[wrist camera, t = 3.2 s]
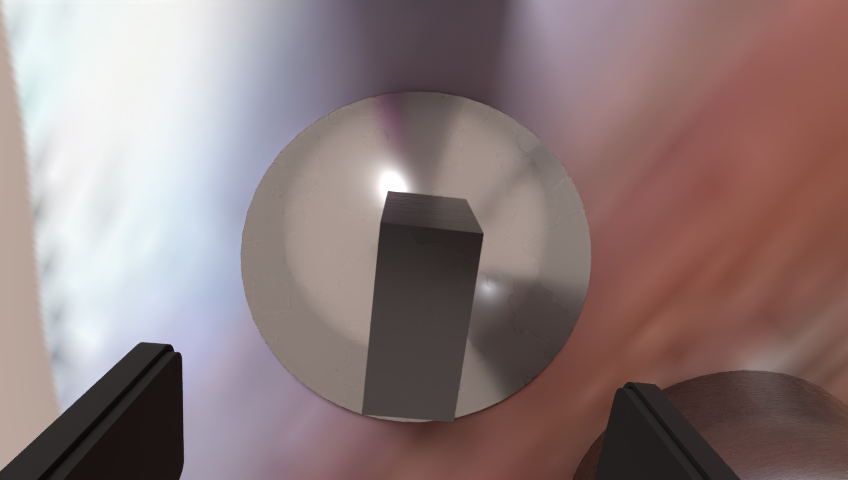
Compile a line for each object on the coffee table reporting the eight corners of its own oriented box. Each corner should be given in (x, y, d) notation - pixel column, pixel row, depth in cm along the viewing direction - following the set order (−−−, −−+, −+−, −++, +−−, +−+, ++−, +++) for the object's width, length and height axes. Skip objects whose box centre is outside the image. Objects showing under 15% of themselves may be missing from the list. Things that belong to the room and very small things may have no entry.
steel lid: (252, 69, 17) (181, 58, 12) (615, 114, 18) (701, 123, 13) (246, 393, 21) (190, 495, 15) (548, 419, 21) (592, 525, 16)
